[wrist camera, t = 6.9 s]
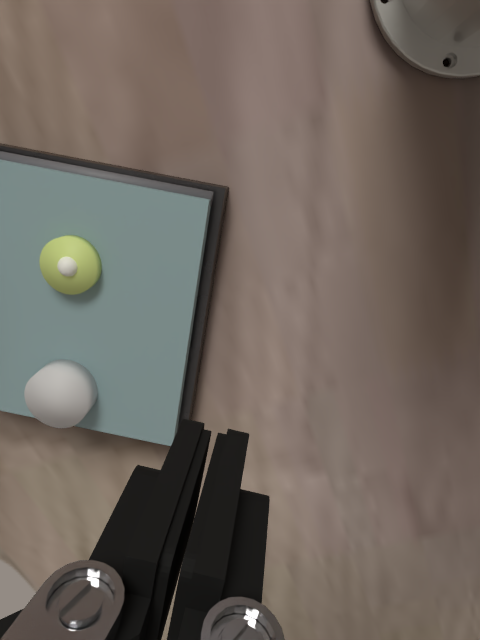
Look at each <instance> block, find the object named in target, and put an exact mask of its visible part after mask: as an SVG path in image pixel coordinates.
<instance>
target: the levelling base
mask: <svg viewBox="0 0 480 640" xmlns="http://www.w3.org/2000/svg"><path fill="white" fill-rule="evenodd" d="M0 151H3V152H8V153H13V154H19V155H24V156H29V157H34V158H40V159H45V160H50V161H55V162H61V163H66V164H71V165H76V166H81V167H87V168H92V169H97V170H102V171H108V172H113V173H118V174H123V175H129V176H134V177H139V178H144V179H150V180H155V181H160V182H165V183H171V184H176V185H181V186H186V187H192V188H197V189H202V190H207V191H213V201H212V205H211V208H210V215H209V222H208V228H207V235H206V242H205V248H204V255H203V262H202V268H201V275H200V282H199V288H198V295H197V302H196V308H195V315H194V322H193V328H192V335H191V342H190V348H189V355H188V362H187V368H186V375H185V382H184V388H183V395H182V402H181V408H180V415H179V422H178V428H179V426H180V423H181V421H182V419H188V420H191V418H192V412H193V406H194V400H195V393H196V387H197V381H198V375H199V369H200V362H201V356H202V350H203V344H204V338H205V331H206V325H207V319H208V313H209V307H210V300H211V294H212V288H213V282H214V276H215V269H216V263H217V257H218V251H219V245H220V238H221V232H222V226H223V220H224V214H225V207H226V201H227V195H228V189H229V187H227V186H222V185H216V184H211V183H206V182H200V181H195V180H190V179H185V178H179V177H174V176H169V175H164V174H158V173H153V172H148V171H143V170H137V169H132V168H127V167H122V166H116V165H111V164H106V163H101V162H95V161H90V160H85V159H79V158H74V157H69V156H64V155H58V154H53V153H48V152H43V151H37V150H32V149H27V148H22V147H16V146H11V145H6V144H1V143H0ZM178 428H177V431H178Z"/></svg>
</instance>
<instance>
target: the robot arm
mask: <svg viewBox="0 0 480 640" xmlns="http://www.w3.org/2000/svg"><path fill="white" fill-rule="evenodd" d="M370 3H371V7H372V10H373V14H374V17H375V21H376V23H377V25H378V27H379V29H380V31H381V33H382V35H383V37H384V39H385V40H386V41H387V43H388V44H389V45H390V46H391V48H392V49H393V50H394V51H395V53H396V54H397V55H399V56H400V57H401V58H402V59H403V60H405V61H406V62H407V63H408V64H410V65H411V66H413V67H415V68H417V69H419V70H421V71H423V72H425V73H427V74H431V75H435V76H439V77H443V78H470V77H475V76H480V0H388V2H387V3H386V4H383V3H381V1H380V0H370ZM444 59H447V60H448V61H449V65H448V67H444V65H443V60H444ZM210 437H211V431H209V430H204V423H201V422H196V421H192V420H188V419H182V421H181V423H180V426H179V428H178V431H177V433H176V435H175V438H174V440H173V442H172V445H171V447H170V450H169V452H168V454H167V457H166V459H165V462H164V464H163V466H162V469H161V470H157V469H153V468H148V467H144V466H140V465H138V466H136V468H135V469H134V471H133V473H132V475H131V477H130V479H129V481H128V483H127V485H126V487H125V489H124V491H123V493H122V495H121V497H120V499H119V501H118V503H117V505H116V507H115V509H114V511H113V513H112V515H111V517H110V519H109V521H108V523H107V525H106V527H105V529H104V531H103V533H102V535H101V537H100V539H99V541H98V543H97V545H96V547H95V549H94V551H93V553H92V555H91V557H90V559H89V560H79V561H76V562H73V563H70V564H67V565H65V566H63V567H61V568H60V569H58V570H56V571H55V572H54V573H53V574H52V575H51V576H50V577H49V578H48V579H47V580H46V581H45V582H44V583H43V584H42V586H41V587H40V588H39V590H38V591H37V592H36V594H35V595H34V596H33V598H32V599H31V600H30V602H29V603H28V604H27V605H26V607H25V608H24V609H22V610H20V611H18V612H16V613H14V614H11V615H9V616H7V617H5V618H3V619H1V620H0V640H161V638H162V635H163V631H164V627H165V624H166V620H167V616H168V613H169V609H170V605H171V602H172V598H173V595H174V591H175V587H176V584H177V580H178V576H179V573H180V576H179V580H178V585H177V591H176V596H175V601H174V606H173V611H172V617H171V622H170V627H169V632H168V637H167V640H285V639H284V635H283V632H282V628H281V626H280V624H279V622H278V621H277V619H276V617H275V616H274V615H273V614H272V613H271V612H270V611H269V610H268V609H267V608H266V606H264V605H262V604H261V603H262V590H263V577H264V564H265V552H266V539H267V526H268V513H269V496H267V495H263V494H259V493H254V492H250V491H246V490H242V489H240V487H241V481H242V475H243V469H244V463H245V457H246V451H247V445H248V439H249V434H248V433H244V432H240V431H235V430H231V429H228V431H227V435H226V434H222V433H218V435H217V438H216V442H215V446H214V449H213V453H212V457H211V460H210V464H209V467H208V471H207V475H206V478H205V482H204V486H203V489H202V493H201V497H200V500H199V504H198V507H197V502H198V497H199V492H200V487H201V482H202V477H203V472H204V467H205V462H206V457H207V452H208V447H209V442H210ZM196 507H197V511H196ZM195 512H196V515H195ZM194 517H195V518H194ZM193 521H194V522H193ZM192 525H193V526H192ZM189 536H190V537H189ZM183 558H184V559H183ZM182 562H183V563H182ZM181 565H182V567H181ZM180 569H181V571H180Z"/></svg>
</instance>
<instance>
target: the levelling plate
mask: <svg viewBox="0 0 480 640" xmlns="http://www.w3.org/2000/svg"><path fill="white" fill-rule="evenodd" d="M212 201H213V191H207V190H202V189H197V188H192V187H186V186H181V185H176V184H171V183H165V182H160V181H155V180H150V179H144V178H139V177H134V176H129V175H123V174H118V173H113V172H108V171H102V170H97V169H92V168H87V167H81V166H76V165H71V164H66V163H61V162H55V161H50V160H45V159H40V158H34V157H29V156H24V155H19V154H13V153H8V152H3V151H0V411H5V412H9V413H14V414H19V415H24V416H29V417H33V418H37V419H38V420H39V421H40V422H42V423H44V424H46V425H48V426H51V427H54V428H69V427H72V426H77V427H81V428H86V429H91V430H96V431H101V432H105V433H110V434H115V435H120V436H124V437H129V438H134V439H139V440H144V441H148V442H153V443H158V444H163V445H168V446H171V445H172V442H173V440H174V438H175V435H176V433H177V428H178V422H179V415H180V408H181V402H182V395H183V388H184V382H185V375H186V368H187V362H188V355H189V348H190V342H191V335H192V328H193V322H194V315H195V308H196V302H197V295H198V288H199V282H200V275H201V268H202V262H203V255H204V248H205V242H206V235H207V228H208V222H209V215H210V208H211V205H212Z"/></svg>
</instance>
